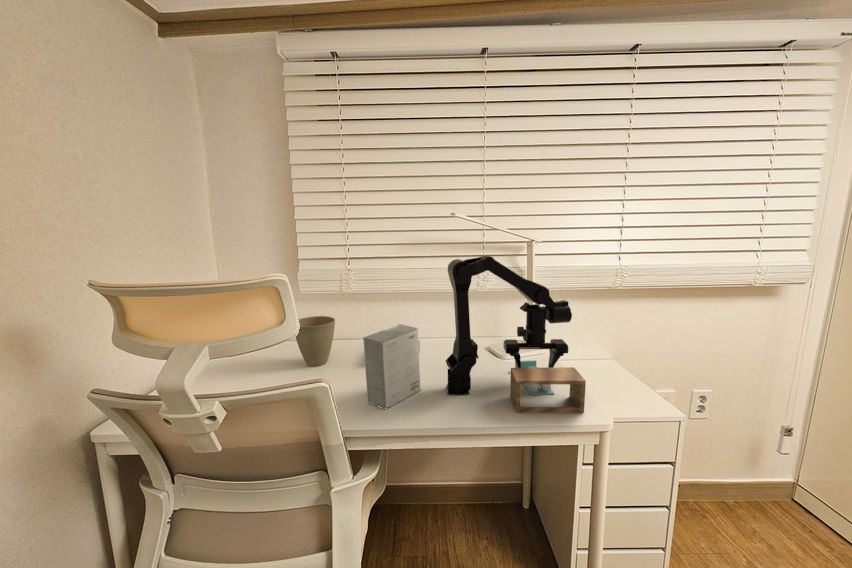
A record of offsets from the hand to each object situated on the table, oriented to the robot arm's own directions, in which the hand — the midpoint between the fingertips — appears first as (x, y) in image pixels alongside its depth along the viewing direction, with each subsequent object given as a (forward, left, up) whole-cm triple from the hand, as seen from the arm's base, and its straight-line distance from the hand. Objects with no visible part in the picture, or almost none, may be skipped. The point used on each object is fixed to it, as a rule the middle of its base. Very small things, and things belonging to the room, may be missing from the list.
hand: (534, 372), depth 122 cm
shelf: (0, -14, -4) cm, 14 cm away
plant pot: (-75, +18, -4) cm, 77 cm away
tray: (0, +1, -4) cm, 4 cm away
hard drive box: (-43, -9, -4) cm, 44 cm away
